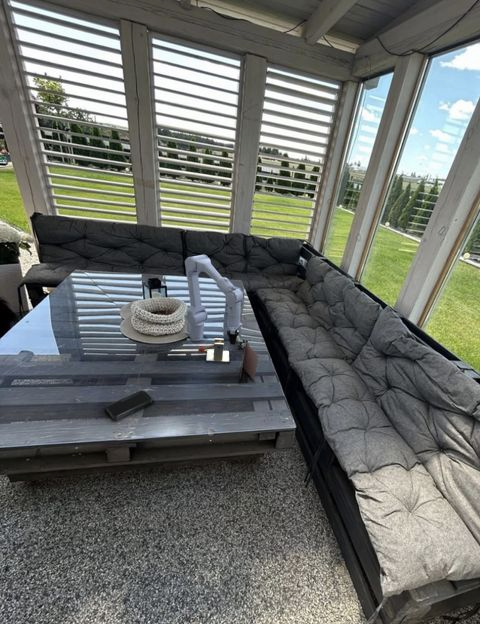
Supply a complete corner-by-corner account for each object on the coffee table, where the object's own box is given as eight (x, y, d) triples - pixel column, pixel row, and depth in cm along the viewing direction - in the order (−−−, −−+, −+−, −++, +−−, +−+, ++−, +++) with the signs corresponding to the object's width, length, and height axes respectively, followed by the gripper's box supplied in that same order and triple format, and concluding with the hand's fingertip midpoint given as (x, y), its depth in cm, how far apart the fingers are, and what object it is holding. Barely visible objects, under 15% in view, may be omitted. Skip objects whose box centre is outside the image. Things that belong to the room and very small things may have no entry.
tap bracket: (206, 362, 140) (207, 345, 135) (207, 351, 147) (208, 335, 142) (228, 363, 142) (230, 347, 137) (228, 352, 149) (230, 337, 144)
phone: (153, 400, 113) (114, 418, 102) (153, 402, 113) (114, 421, 103) (142, 389, 116) (104, 406, 106) (143, 391, 117) (104, 408, 107)
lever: (199, 354, 141) (196, 349, 139) (200, 351, 143) (197, 346, 141) (222, 347, 140) (220, 342, 138) (222, 344, 142) (220, 339, 141)
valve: (227, 340, 159) (237, 351, 152) (228, 329, 156) (238, 341, 148) (237, 337, 163) (248, 349, 155) (238, 328, 159) (249, 339, 151)
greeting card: (240, 367, 141) (244, 342, 133) (255, 369, 142) (259, 344, 133) (237, 382, 132) (241, 356, 123) (253, 384, 132) (258, 358, 124)
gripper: (242, 322, 128) (240, 348, 134) (243, 309, 140) (242, 333, 147) (226, 321, 127) (225, 347, 134) (229, 308, 139) (228, 332, 146)
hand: (233, 340), depth 140 cm, fingers open, 7 cm apart
